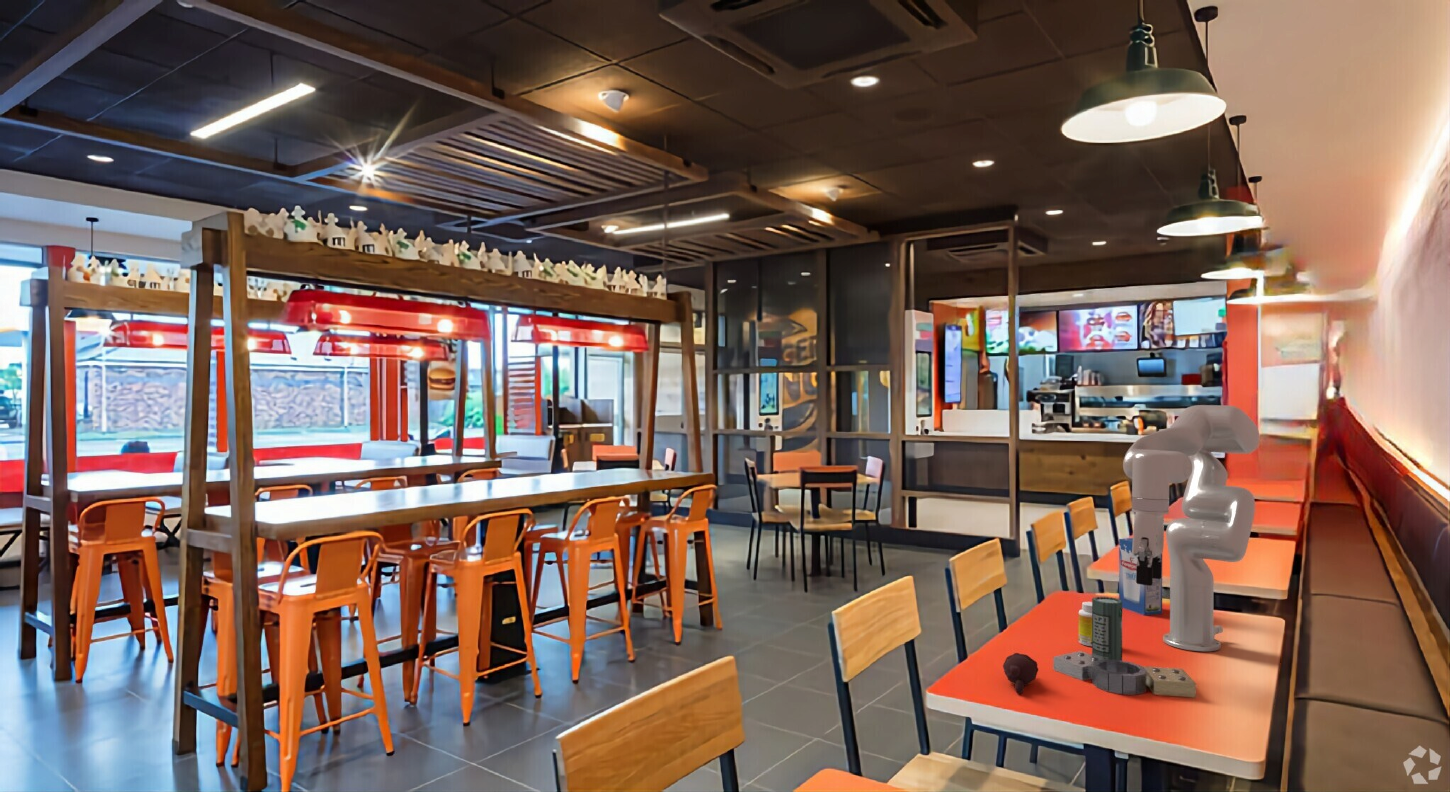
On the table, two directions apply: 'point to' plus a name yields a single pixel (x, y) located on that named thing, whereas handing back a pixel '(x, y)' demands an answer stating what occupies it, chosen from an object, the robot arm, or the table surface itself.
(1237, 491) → the robot arm
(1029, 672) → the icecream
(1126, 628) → the table surface
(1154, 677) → the tan studded block
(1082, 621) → the supplement bottle
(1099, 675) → the leaf fixed
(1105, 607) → the can
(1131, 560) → the milk carton
